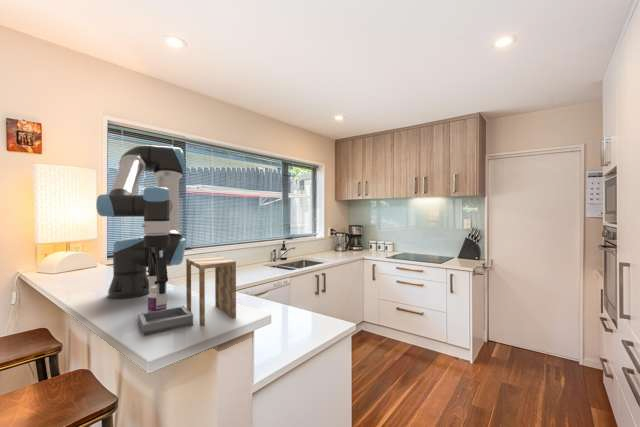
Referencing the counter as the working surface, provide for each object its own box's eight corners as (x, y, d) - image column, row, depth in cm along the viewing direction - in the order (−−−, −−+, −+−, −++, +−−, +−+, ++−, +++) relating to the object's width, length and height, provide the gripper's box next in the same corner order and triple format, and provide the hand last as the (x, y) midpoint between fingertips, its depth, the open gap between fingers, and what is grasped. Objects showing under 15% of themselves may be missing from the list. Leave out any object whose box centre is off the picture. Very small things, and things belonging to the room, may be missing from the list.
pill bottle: (158, 319, 95) (158, 288, 94) (144, 317, 96) (143, 288, 95) (170, 313, 100) (170, 284, 100) (156, 312, 101) (156, 283, 101)
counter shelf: (186, 311, 101) (186, 258, 101) (218, 305, 108) (218, 255, 108) (200, 326, 89) (200, 265, 89) (236, 317, 96) (235, 261, 95)
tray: (138, 324, 90) (138, 314, 90) (183, 314, 98) (183, 305, 98) (143, 336, 82) (143, 325, 82) (193, 324, 90) (193, 314, 90)
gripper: (138, 233, 105) (138, 293, 105) (150, 236, 85) (150, 311, 85) (162, 232, 110) (162, 290, 109) (178, 235, 90) (178, 305, 90)
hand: (157, 299), depth 97 cm, fingers open, 13 cm apart
